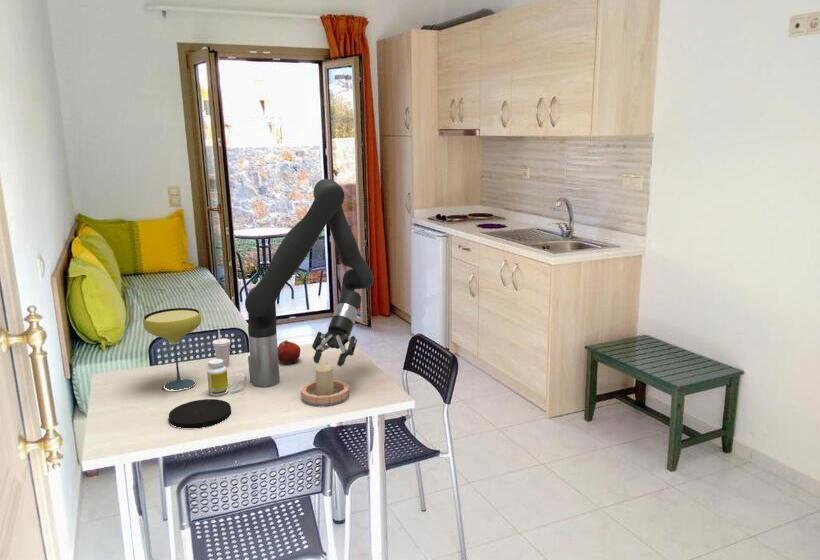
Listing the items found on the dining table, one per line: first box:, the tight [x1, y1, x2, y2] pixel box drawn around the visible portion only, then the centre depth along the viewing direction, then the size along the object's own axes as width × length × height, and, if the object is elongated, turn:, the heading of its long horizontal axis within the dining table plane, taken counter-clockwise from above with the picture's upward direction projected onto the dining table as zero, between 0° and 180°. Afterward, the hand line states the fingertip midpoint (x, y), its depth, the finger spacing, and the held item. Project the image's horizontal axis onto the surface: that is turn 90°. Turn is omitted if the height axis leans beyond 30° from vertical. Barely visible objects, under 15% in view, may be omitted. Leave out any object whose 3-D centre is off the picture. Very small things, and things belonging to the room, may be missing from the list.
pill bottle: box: [206, 358, 229, 397], centre depth 209 cm, size 6×6×11 cm
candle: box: [314, 362, 334, 396], centre depth 204 cm, size 6×6×10 cm
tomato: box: [277, 340, 301, 364], centre depth 238 cm, size 9×9×8 cm
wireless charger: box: [168, 398, 232, 429], centre depth 193 cm, size 18×18×2 cm
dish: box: [300, 378, 350, 408], centre depth 205 cm, size 15×15×3 cm
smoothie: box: [212, 329, 232, 368], centre depth 234 cm, size 6×6×14 cm
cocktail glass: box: [142, 307, 202, 390], centre depth 215 cm, size 18×18×25 cm
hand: (327, 363), depth 205 cm, fingers open, 8 cm apart
